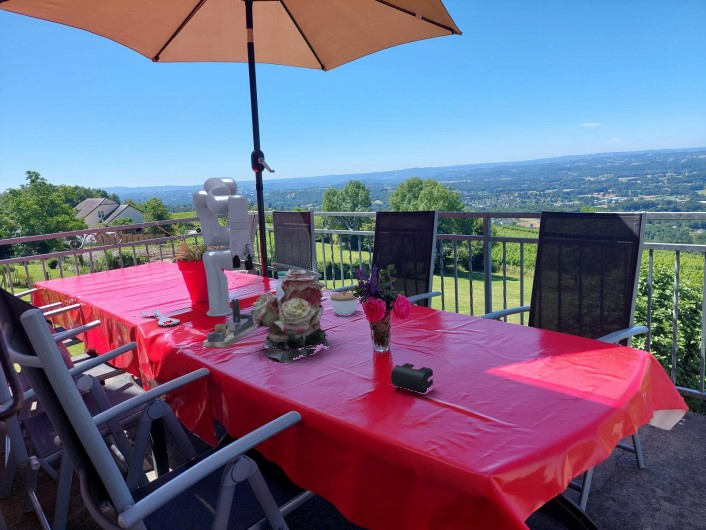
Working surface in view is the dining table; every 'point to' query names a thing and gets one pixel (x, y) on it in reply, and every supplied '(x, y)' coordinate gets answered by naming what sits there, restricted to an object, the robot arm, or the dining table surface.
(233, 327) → the ram
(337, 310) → the lidded bowl
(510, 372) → the dining table surface
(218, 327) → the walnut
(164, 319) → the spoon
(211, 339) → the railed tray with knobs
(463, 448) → the dining table surface
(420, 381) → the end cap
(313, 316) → the rose bouquet
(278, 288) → the milk bottle
